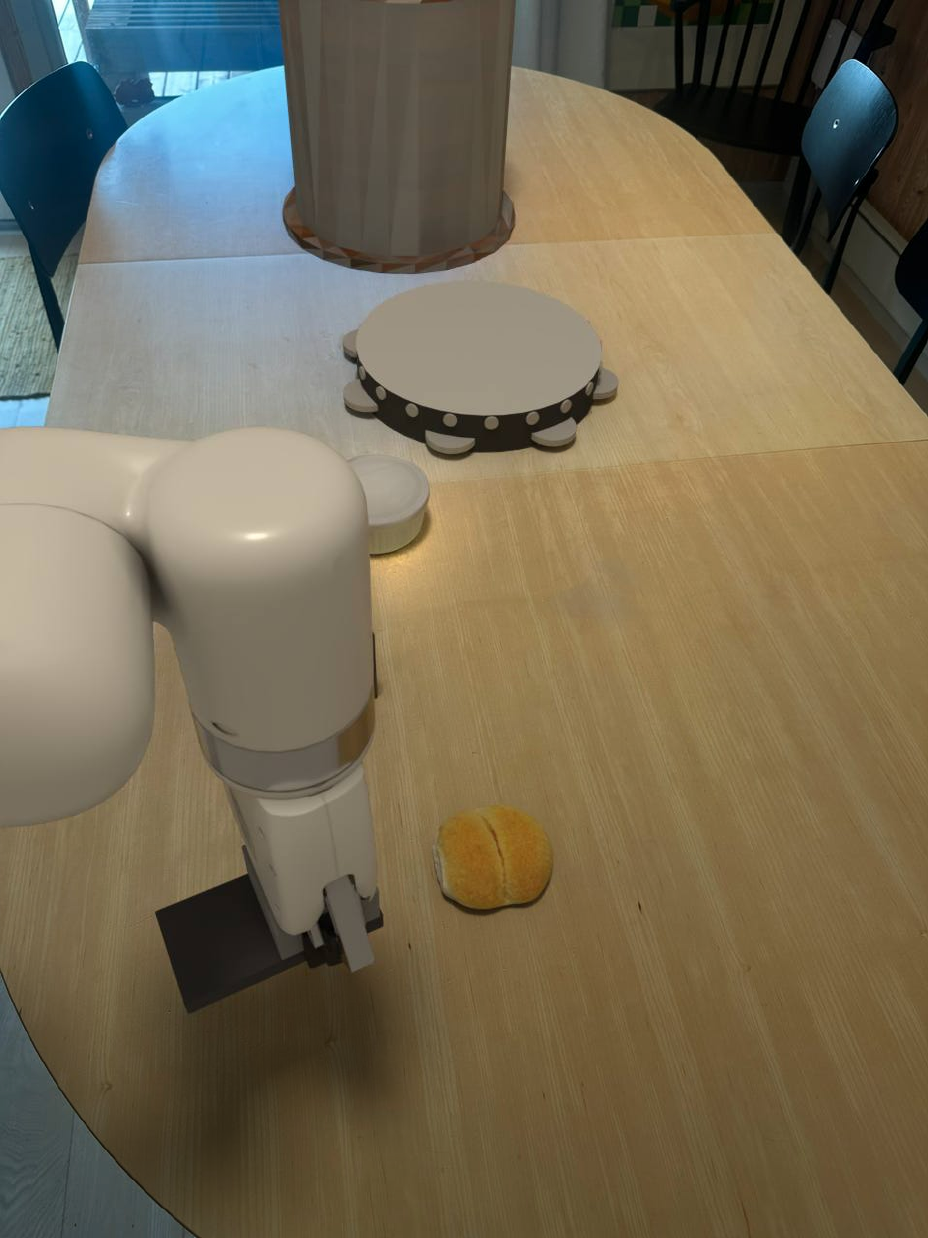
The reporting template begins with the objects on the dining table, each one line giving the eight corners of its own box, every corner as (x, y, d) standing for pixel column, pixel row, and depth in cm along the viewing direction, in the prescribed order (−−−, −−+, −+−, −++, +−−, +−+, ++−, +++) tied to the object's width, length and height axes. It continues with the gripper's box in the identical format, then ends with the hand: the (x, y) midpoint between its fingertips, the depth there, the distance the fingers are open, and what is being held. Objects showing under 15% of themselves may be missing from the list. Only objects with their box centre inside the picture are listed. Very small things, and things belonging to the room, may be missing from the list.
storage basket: (521, 176, 158) (540, -60, 134) (507, 283, 134) (527, 19, 111) (309, 159, 159) (290, -78, 135) (258, 262, 136) (225, -4, 112)
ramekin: (358, 477, 105) (356, 438, 101) (449, 512, 101) (450, 473, 97) (298, 538, 98) (294, 498, 94) (393, 578, 95) (392, 538, 91)
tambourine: (620, 323, 128) (626, 288, 124) (610, 481, 106) (617, 444, 102) (367, 295, 130) (365, 260, 127) (304, 444, 108) (301, 406, 105)
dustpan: (188, 1015, 50) (173, 981, 47) (159, 922, 53) (143, 884, 50) (384, 927, 54) (383, 889, 50) (345, 845, 57) (342, 805, 54)
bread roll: (564, 900, 72) (570, 874, 69) (447, 923, 71) (448, 898, 68) (534, 806, 78) (538, 778, 75) (424, 825, 76) (425, 798, 73)
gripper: (142, 597, 44) (202, 807, 58) (268, 914, 34) (305, 1081, 48) (297, 551, 47) (320, 762, 60) (457, 834, 37) (442, 1013, 50)
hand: (313, 901), depth 54 cm, fingers closed on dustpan, 5 cm apart
